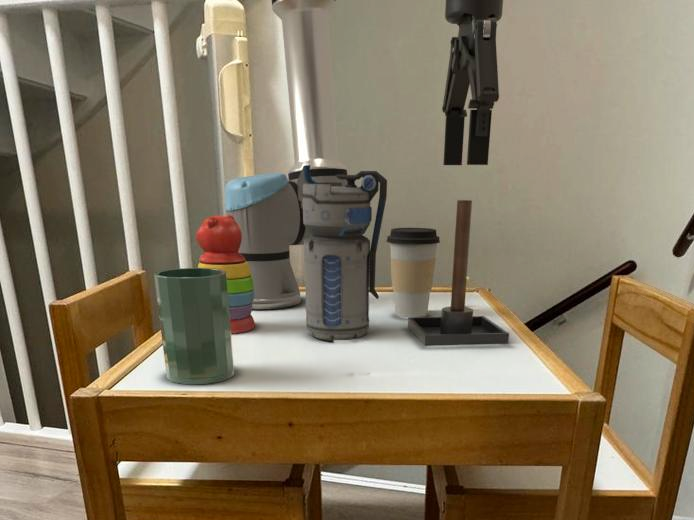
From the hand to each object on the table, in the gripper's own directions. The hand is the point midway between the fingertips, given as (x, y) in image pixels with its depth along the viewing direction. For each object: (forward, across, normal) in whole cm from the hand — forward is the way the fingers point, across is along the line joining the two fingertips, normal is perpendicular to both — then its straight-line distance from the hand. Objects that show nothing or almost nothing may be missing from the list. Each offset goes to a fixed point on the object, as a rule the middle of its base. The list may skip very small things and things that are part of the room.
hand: (464, 165), depth 96 cm
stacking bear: (+25, -12, -36) cm, 46 cm away
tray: (+25, -1, +1) cm, 25 cm away
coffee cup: (+25, -18, -4) cm, 31 cm away
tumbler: (+25, +16, -38) cm, 49 cm away
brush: (+25, -1, +1) cm, 25 cm away
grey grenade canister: (+25, -4, -17) cm, 31 cm away
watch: (+25, -24, +7) cm, 36 cm away
